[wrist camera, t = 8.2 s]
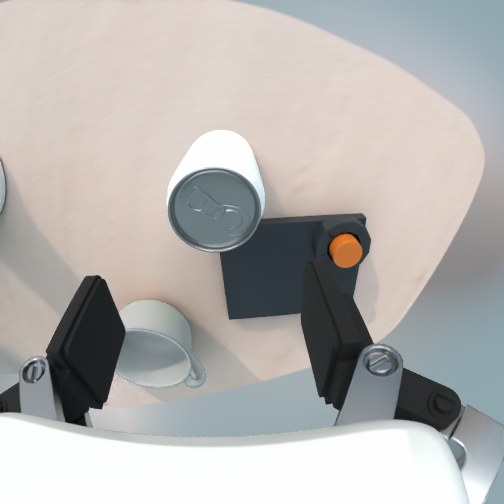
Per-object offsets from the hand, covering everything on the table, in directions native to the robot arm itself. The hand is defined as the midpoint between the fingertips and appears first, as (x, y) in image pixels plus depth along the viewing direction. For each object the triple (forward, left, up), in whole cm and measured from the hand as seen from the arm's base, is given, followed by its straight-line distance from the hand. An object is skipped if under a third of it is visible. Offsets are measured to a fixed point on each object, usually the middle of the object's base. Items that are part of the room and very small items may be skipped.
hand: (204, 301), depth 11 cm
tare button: (+12, -9, -17) cm, 23 cm away
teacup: (-10, -21, -20) cm, 31 cm away
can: (0, 0, -20) cm, 20 cm away
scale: (+7, -13, -20) cm, 25 cm away
